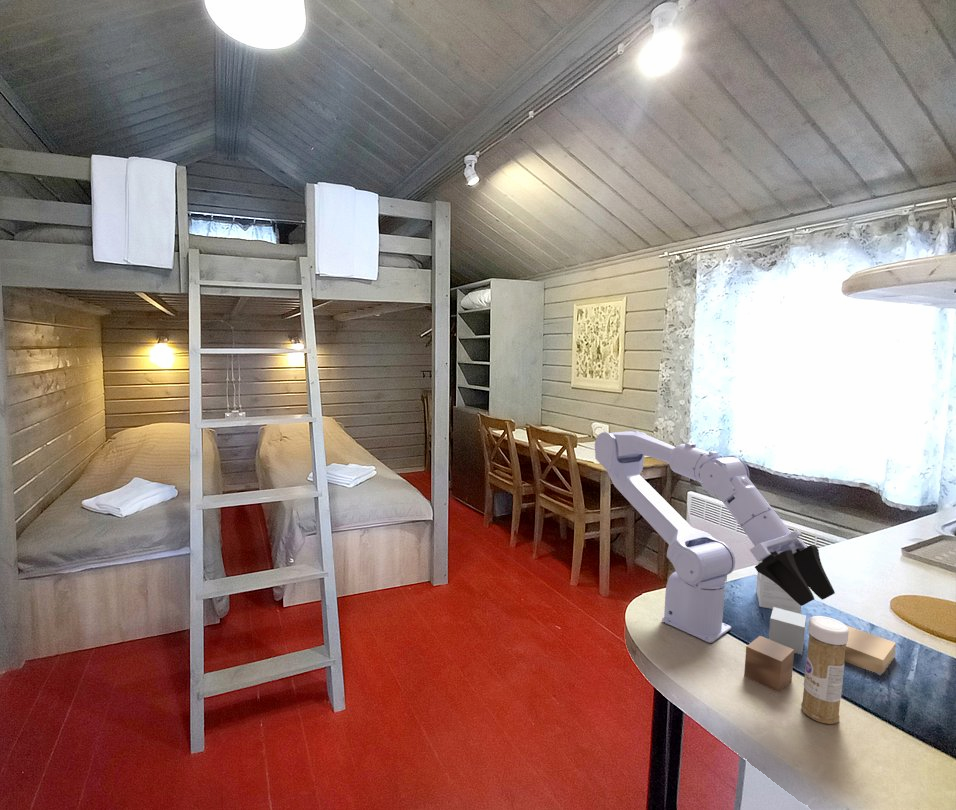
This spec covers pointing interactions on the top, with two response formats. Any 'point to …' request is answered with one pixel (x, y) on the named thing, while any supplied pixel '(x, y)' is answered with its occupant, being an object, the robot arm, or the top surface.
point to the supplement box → (774, 595)
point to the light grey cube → (787, 629)
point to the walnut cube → (769, 663)
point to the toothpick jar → (824, 669)
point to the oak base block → (868, 650)
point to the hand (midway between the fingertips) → (818, 599)
